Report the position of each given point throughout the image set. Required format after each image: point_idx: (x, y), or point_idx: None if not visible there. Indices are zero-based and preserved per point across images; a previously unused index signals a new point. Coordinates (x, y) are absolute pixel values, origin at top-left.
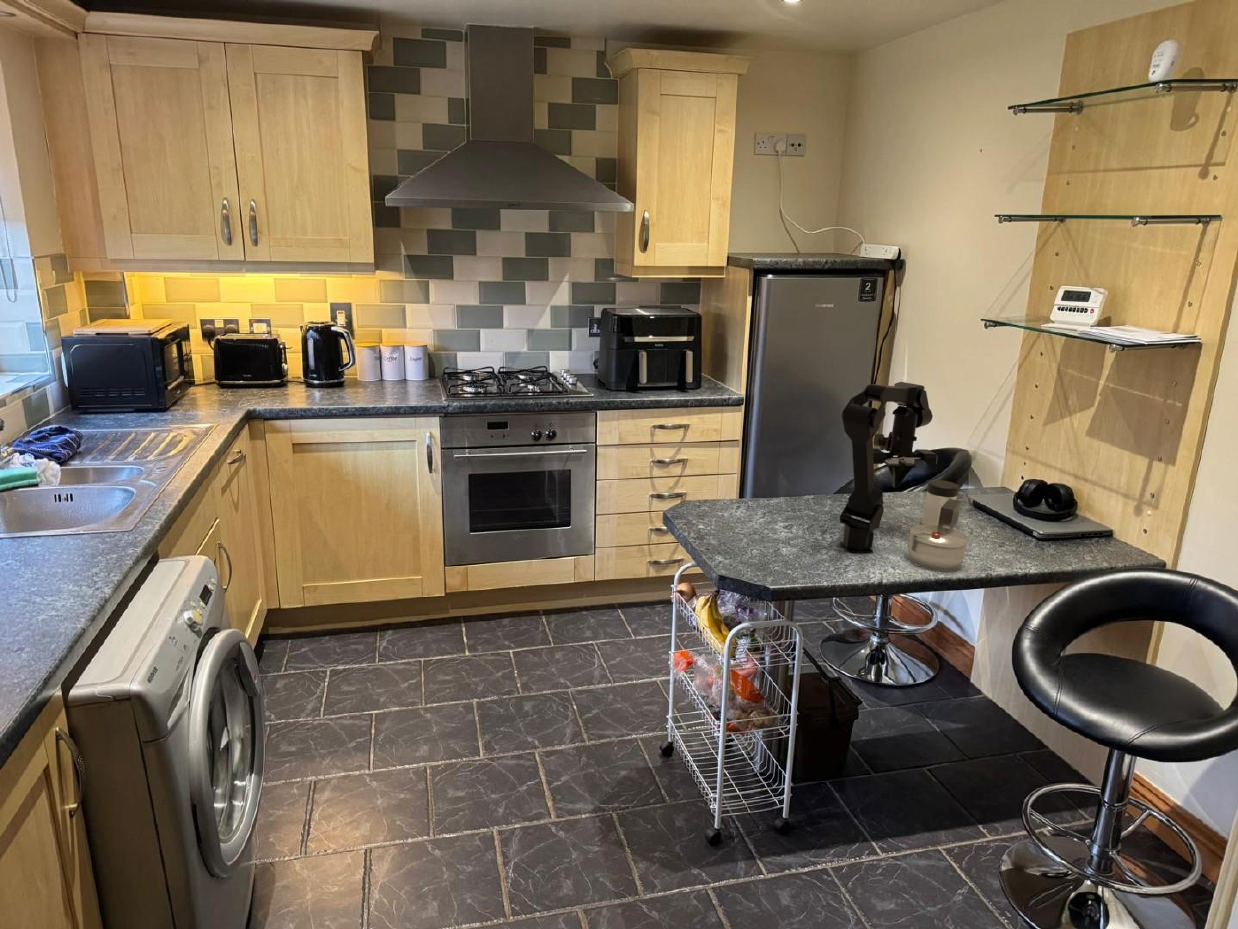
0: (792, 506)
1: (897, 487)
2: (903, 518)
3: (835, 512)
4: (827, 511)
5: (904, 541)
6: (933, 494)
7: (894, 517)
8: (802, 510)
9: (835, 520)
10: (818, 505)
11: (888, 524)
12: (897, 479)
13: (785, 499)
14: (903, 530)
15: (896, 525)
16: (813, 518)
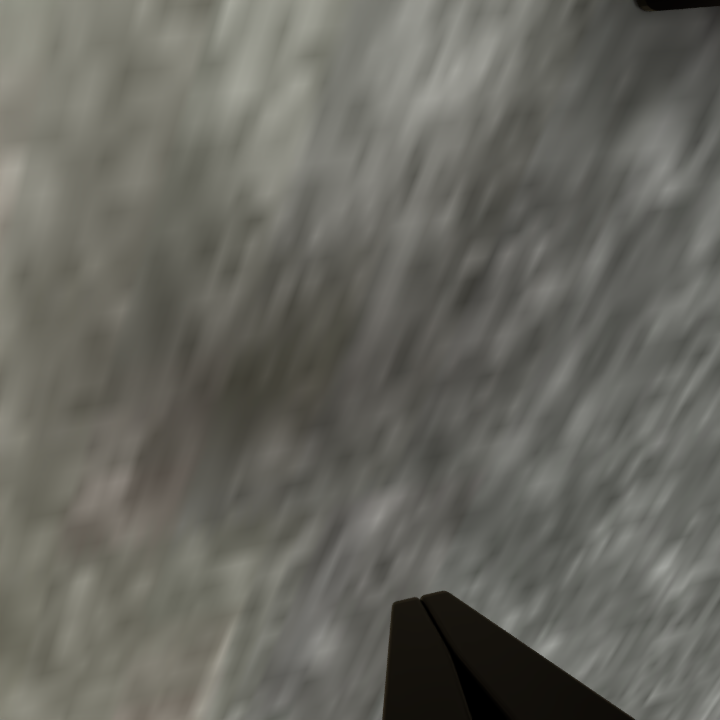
0: (709, 637)
1: (394, 606)
2: (67, 634)
3: (514, 616)
4: (555, 619)
5: (214, 118)
6: None
7: (135, 635)
8: (690, 597)
9: (581, 488)
10: None
11: (228, 496)
12: (536, 712)
13: (688, 715)
14: (140, 395)
15: (168, 489)
16: (699, 491)
